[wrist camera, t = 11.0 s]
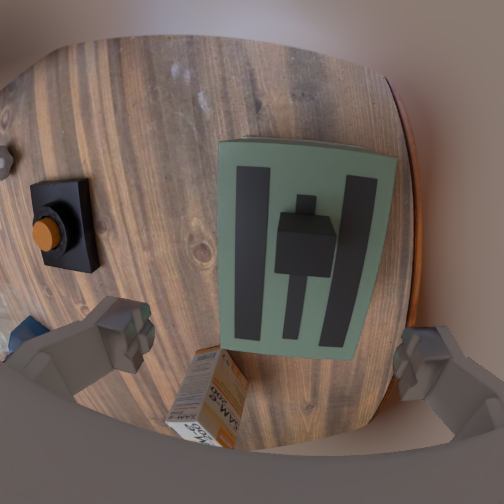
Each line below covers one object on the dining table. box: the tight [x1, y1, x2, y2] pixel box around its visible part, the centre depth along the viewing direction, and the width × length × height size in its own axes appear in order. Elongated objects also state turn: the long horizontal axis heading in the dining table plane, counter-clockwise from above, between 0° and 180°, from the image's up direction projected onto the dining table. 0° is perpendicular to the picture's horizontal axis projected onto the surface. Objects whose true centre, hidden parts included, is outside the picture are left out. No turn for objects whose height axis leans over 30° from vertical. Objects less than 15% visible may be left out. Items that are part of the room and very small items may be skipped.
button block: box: [30, 178, 100, 273], centre depth 32 cm, size 12×10×4 cm
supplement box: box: [165, 346, 249, 449], centre depth 33 cm, size 8×5×13 cm, turn 25°
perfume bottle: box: [3, 316, 50, 363], centre depth 39 cm, size 6×6×12 cm
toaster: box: [218, 136, 397, 360], centre depth 24 cm, size 16×11×11 cm
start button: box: [33, 217, 60, 251], centre depth 29 cm, size 4×4×2 cm
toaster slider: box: [274, 212, 337, 278], centre depth 16 cm, size 2×3×4 cm
